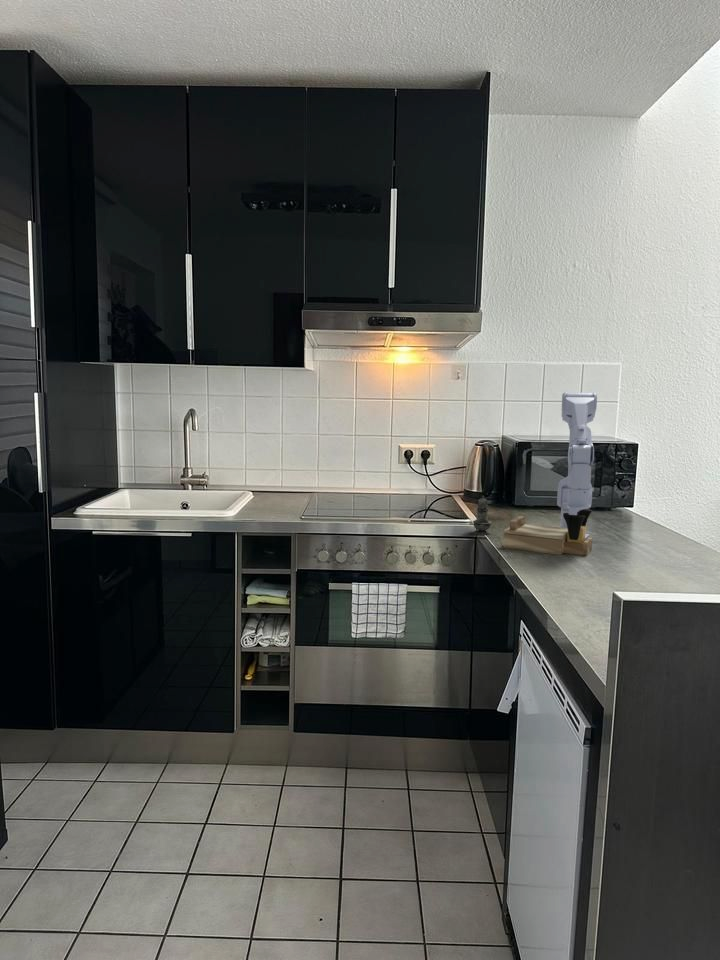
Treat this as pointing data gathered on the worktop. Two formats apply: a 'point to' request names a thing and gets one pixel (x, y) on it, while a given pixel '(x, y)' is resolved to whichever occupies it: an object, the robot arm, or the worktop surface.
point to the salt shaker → (482, 518)
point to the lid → (535, 529)
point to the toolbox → (546, 544)
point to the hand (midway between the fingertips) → (576, 537)
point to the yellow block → (581, 536)
